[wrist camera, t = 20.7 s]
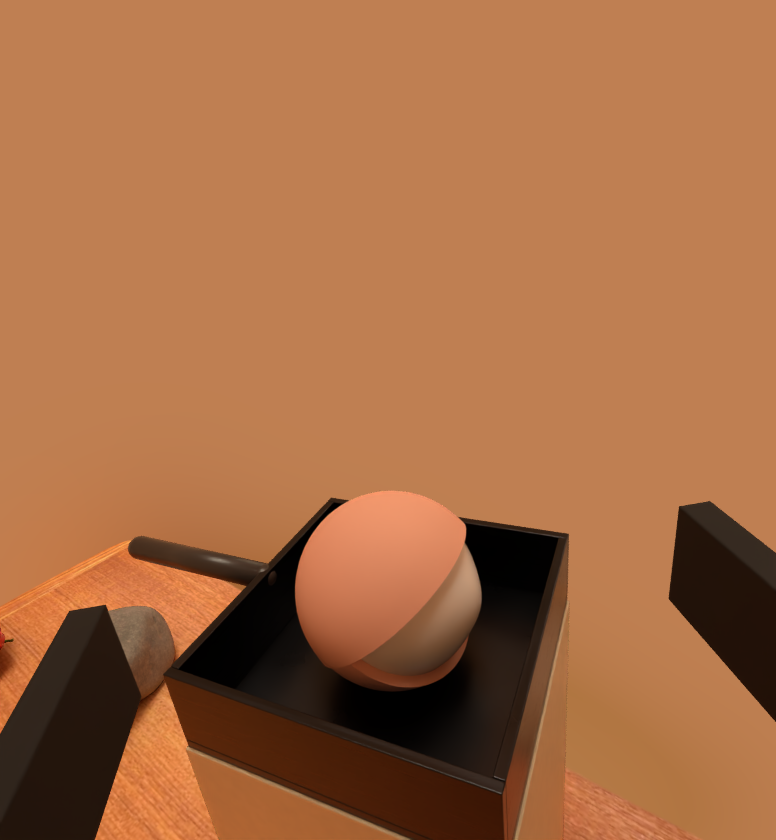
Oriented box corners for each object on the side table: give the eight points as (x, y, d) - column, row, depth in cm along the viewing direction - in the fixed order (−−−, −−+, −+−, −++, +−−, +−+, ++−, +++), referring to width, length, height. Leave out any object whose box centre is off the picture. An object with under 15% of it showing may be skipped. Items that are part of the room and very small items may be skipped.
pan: (567, 601, 28) (569, 531, 26) (505, 879, 17) (502, 793, 16) (224, 532, 37) (210, 477, 35) (46, 688, 26) (13, 620, 25)
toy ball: (459, 765, 20) (444, 590, 17) (277, 709, 23) (235, 552, 20) (504, 611, 27) (499, 465, 24) (358, 583, 30) (336, 450, 27)
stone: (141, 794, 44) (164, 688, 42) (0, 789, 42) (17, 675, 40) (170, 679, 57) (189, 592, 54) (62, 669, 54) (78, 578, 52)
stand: (563, 838, 35) (569, 600, 28) (518, 1139, 25) (508, 884, 17) (376, 769, 41) (340, 554, 33) (273, 991, 30) (184, 748, 22)
